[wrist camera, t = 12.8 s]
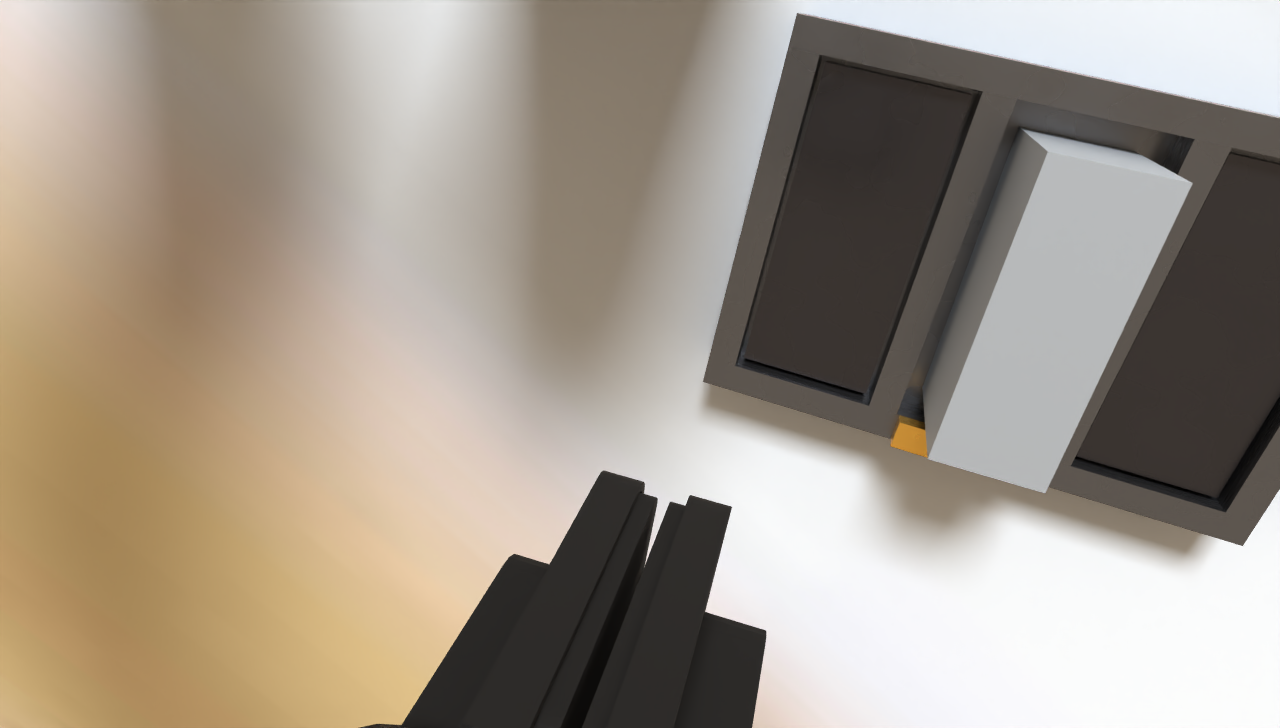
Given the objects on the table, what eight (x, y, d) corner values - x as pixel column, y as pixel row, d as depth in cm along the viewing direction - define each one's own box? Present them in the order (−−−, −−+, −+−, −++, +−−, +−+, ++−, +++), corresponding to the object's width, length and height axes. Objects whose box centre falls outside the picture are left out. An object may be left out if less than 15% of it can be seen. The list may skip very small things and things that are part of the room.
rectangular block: (1019, 126, 26) (1047, 151, 21) (1135, 151, 25) (1192, 183, 20) (922, 387, 30) (927, 459, 25) (1020, 414, 29) (1044, 493, 24)
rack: (804, 13, 27) (794, 13, 24) (1439, 152, 24) (1505, 168, 21) (715, 359, 33) (699, 388, 30) (1218, 509, 29) (1249, 556, 27)
